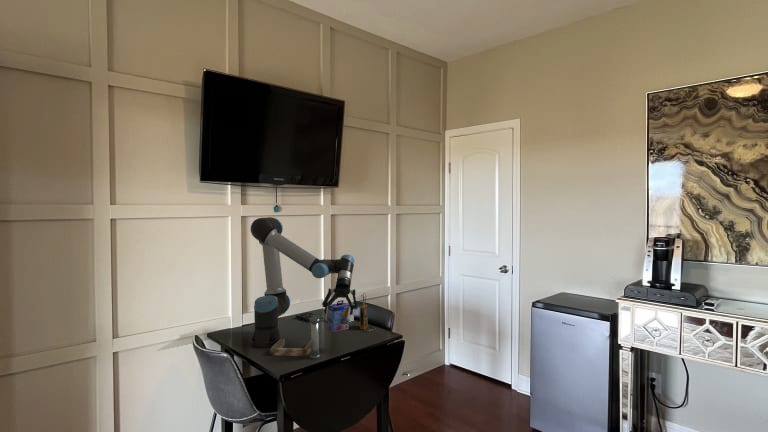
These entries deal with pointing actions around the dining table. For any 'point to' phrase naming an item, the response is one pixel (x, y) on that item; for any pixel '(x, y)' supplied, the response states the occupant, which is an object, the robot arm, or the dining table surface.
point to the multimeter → (363, 315)
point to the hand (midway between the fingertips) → (337, 319)
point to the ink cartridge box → (338, 317)
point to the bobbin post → (314, 338)
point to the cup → (352, 316)
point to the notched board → (289, 349)
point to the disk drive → (307, 316)
